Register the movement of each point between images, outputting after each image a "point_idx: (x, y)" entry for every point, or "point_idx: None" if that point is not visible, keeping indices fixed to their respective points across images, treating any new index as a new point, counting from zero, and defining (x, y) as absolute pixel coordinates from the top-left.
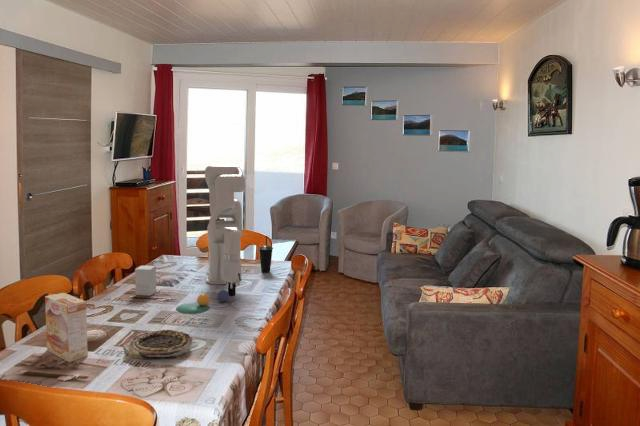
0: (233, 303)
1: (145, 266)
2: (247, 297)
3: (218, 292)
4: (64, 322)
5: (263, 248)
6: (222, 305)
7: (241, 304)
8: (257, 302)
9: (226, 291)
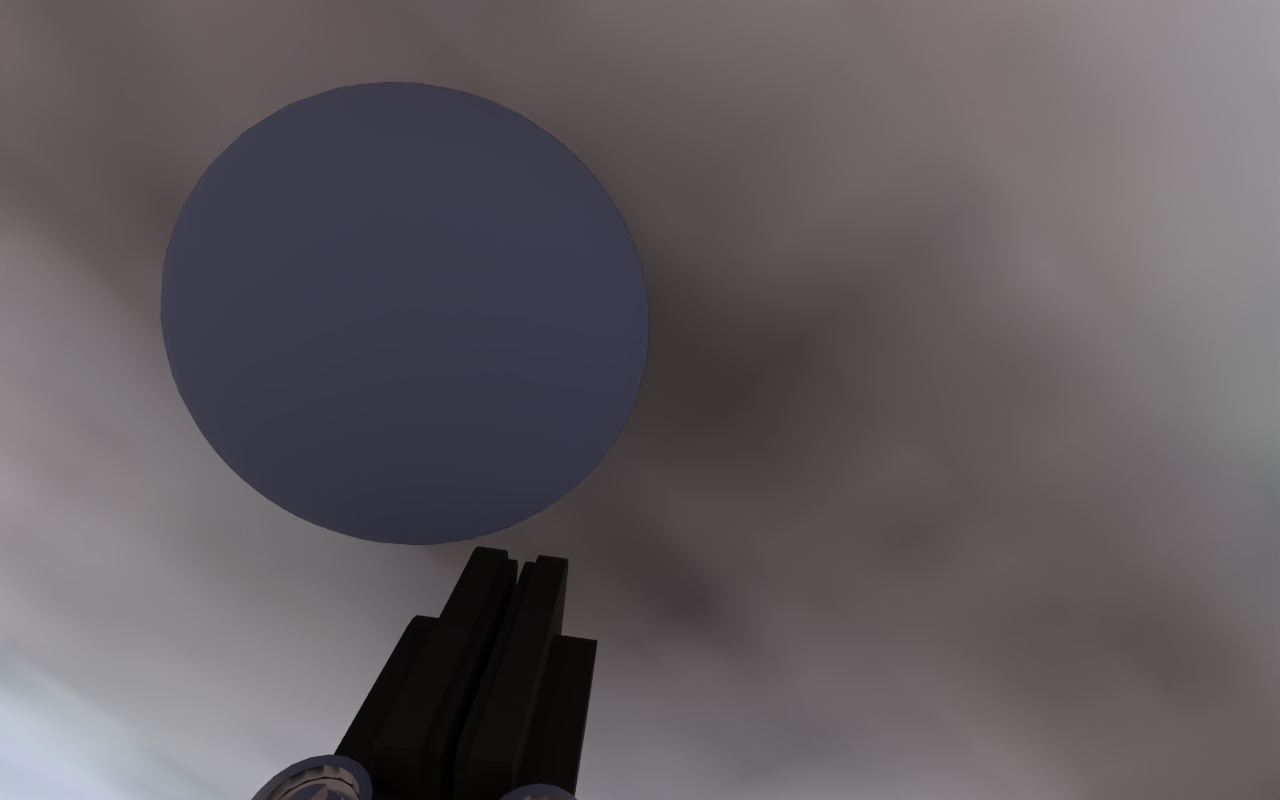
0: None
1: None
2: None
3: (488, 202)
4: None
5: None
6: (255, 44)
7: (74, 433)
8: (40, 692)
9: (230, 457)
